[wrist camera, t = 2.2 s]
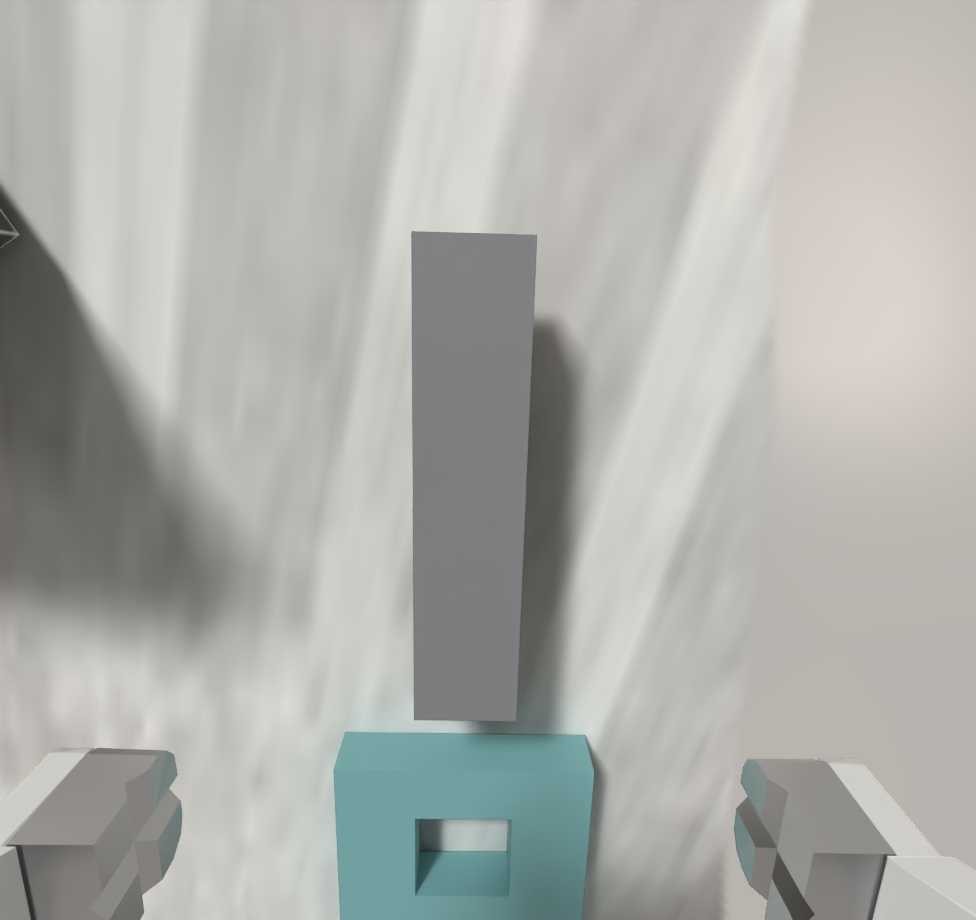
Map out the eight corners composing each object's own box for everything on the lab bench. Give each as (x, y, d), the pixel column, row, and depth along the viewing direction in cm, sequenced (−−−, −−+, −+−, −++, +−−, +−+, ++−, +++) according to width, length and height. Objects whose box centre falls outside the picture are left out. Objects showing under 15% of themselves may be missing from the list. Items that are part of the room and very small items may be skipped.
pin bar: (509, 644, 29) (516, 721, 24) (426, 643, 29) (414, 720, 24) (524, 250, 25) (537, 234, 19) (426, 247, 24) (411, 231, 19)
